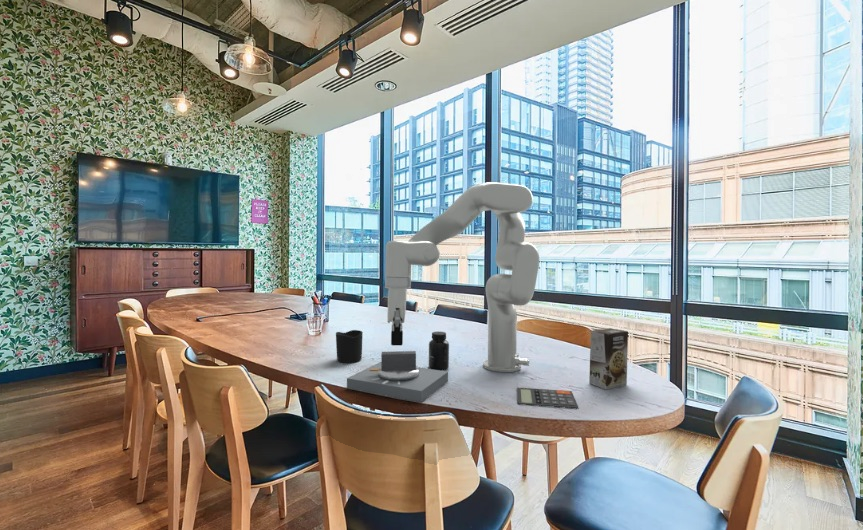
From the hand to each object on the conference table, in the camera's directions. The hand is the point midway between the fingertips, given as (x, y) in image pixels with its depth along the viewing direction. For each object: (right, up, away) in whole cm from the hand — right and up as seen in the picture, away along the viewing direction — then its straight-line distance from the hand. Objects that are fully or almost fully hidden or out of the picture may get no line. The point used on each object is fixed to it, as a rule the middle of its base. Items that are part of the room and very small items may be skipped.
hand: (396, 341), depth 117 cm
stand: (+1, -13, +1) cm, 13 cm away
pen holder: (-19, -12, +27) cm, 35 cm away
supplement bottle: (+13, -13, +17) cm, 25 cm away
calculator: (+41, -14, -9) cm, 44 cm away
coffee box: (+63, -13, +2) cm, 64 cm away
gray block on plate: (-1, -10, +1) cm, 10 cm away
